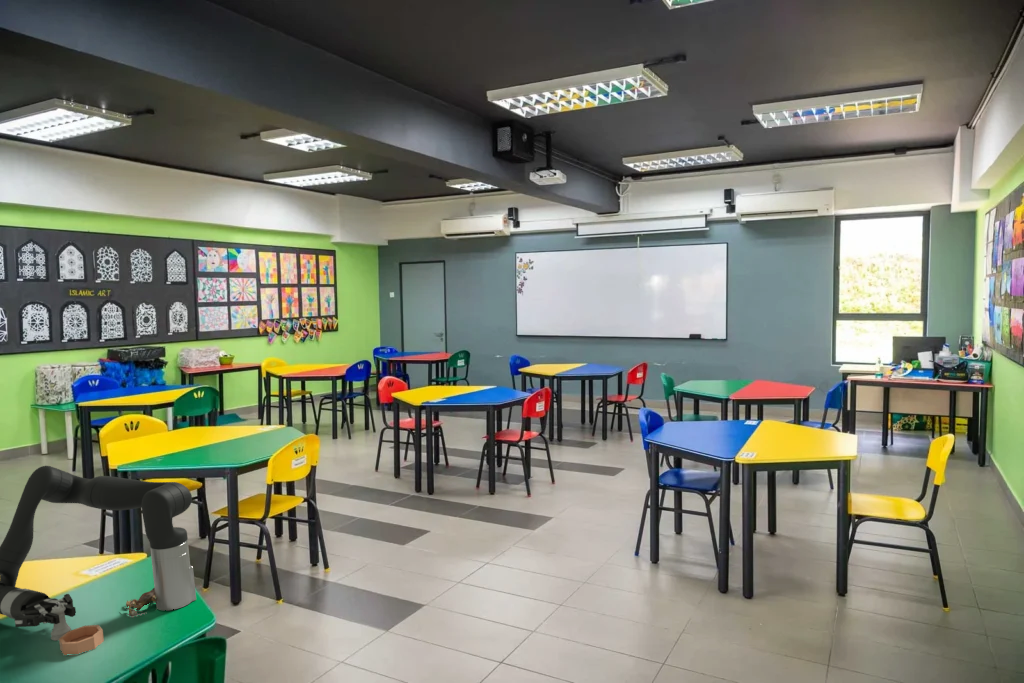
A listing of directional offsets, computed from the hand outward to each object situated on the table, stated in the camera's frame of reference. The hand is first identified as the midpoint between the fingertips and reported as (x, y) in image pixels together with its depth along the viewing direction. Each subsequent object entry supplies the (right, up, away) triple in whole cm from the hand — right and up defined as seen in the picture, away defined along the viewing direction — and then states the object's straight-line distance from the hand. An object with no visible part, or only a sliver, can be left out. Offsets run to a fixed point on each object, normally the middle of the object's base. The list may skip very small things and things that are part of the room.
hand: (65, 615), depth 168 cm
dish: (+6, -6, -3) cm, 9 cm away
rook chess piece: (-2, -6, +2) cm, 7 cm away
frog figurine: (+10, -5, +17) cm, 20 cm away
